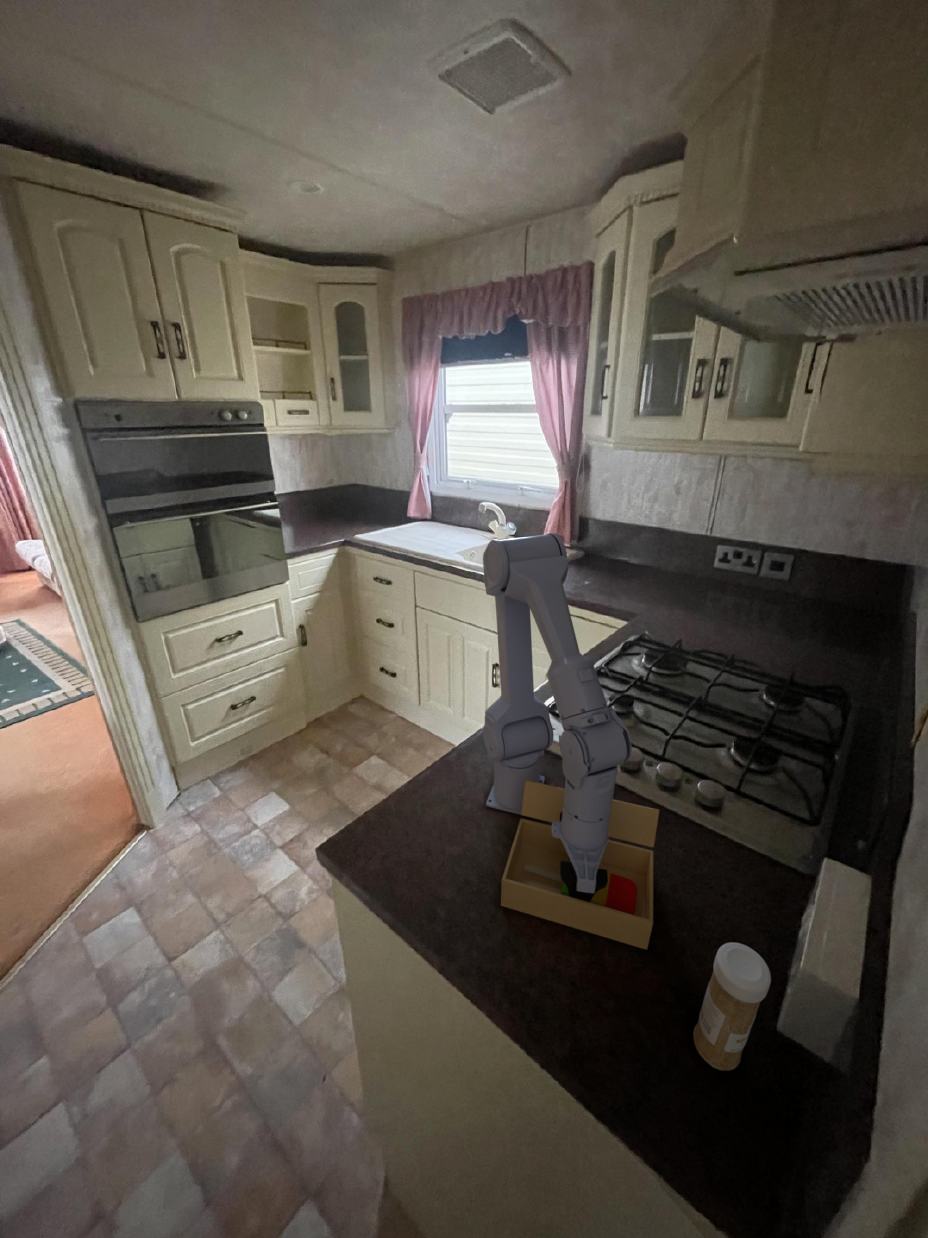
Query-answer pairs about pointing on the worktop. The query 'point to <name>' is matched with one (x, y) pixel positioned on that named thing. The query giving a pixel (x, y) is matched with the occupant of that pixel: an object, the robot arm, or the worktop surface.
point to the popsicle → (601, 890)
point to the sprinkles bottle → (730, 1005)
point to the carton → (550, 904)
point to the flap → (624, 816)
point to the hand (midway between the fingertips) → (577, 881)
